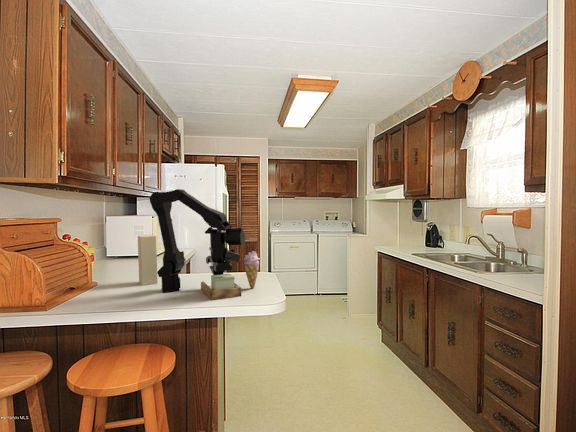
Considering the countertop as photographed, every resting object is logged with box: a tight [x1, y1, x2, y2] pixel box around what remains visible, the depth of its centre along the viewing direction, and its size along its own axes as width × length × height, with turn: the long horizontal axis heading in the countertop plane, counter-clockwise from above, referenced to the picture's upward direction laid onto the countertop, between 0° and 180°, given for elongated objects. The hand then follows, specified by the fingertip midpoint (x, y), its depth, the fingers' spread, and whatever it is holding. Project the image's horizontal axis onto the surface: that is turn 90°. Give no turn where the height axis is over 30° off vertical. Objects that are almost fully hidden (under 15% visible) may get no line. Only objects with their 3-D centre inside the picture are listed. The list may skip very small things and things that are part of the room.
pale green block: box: [210, 273, 236, 291], centre depth 131 cm, size 7×7×6 cm
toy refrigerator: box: [137, 234, 159, 286], centre depth 154 cm, size 8×7×21 cm
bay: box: [200, 281, 243, 301], centre depth 135 cm, size 11×18×3 cm, turn 24°
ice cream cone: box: [243, 250, 261, 290], centre depth 139 cm, size 7×6×15 cm
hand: (219, 284), depth 137 cm, fingers closed
